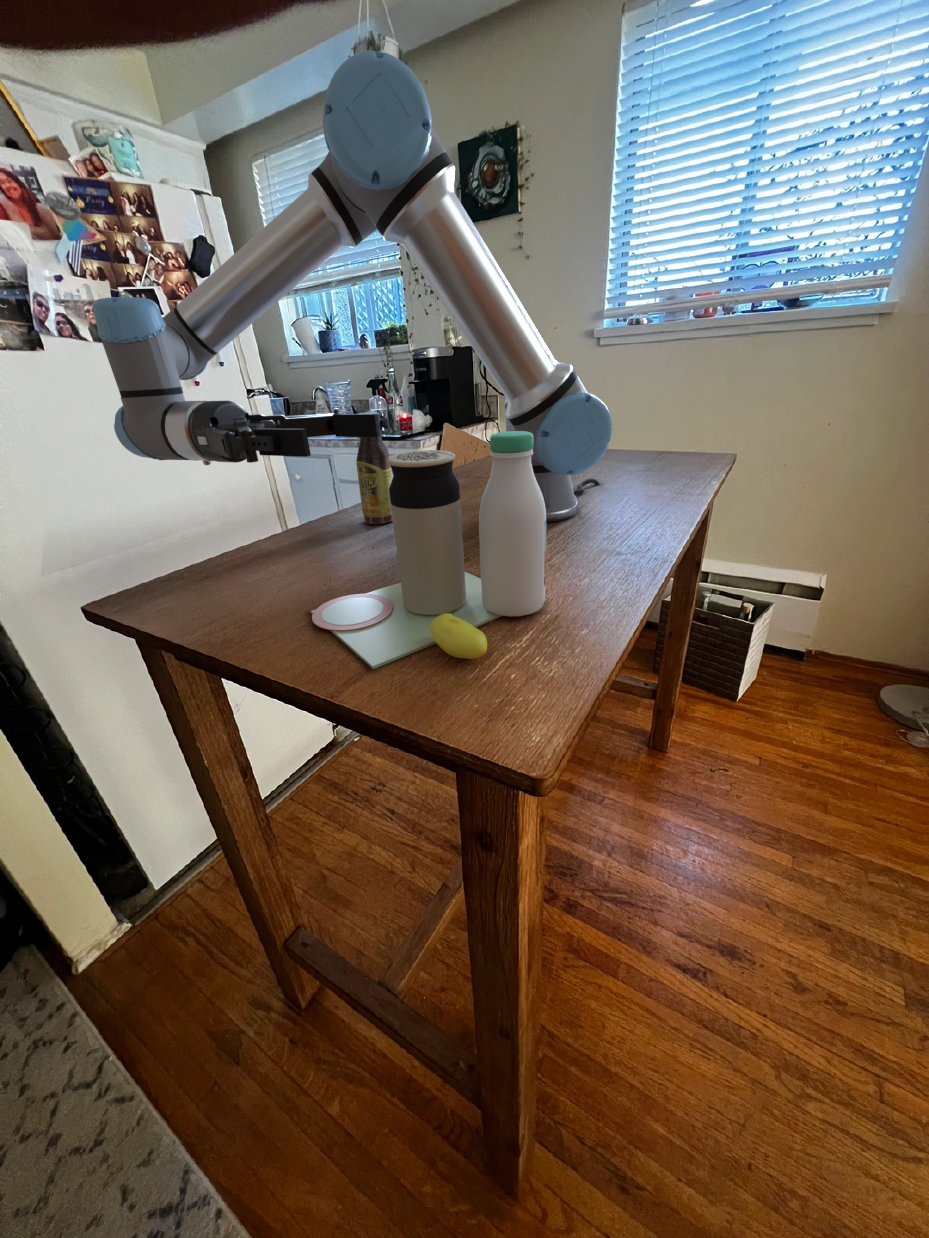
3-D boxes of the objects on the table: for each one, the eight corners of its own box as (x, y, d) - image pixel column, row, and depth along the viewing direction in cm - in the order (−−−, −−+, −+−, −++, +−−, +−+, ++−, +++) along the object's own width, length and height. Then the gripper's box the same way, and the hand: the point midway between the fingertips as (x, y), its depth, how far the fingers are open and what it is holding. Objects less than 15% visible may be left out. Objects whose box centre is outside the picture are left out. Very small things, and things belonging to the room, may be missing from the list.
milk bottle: (542, 619, 58) (546, 437, 49) (477, 616, 59) (468, 440, 50) (546, 591, 64) (550, 427, 55) (487, 589, 66) (481, 429, 57)
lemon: (451, 629, 57) (450, 599, 55) (497, 661, 51) (497, 628, 49) (420, 642, 55) (417, 611, 53) (465, 676, 49) (464, 643, 47)
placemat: (448, 566, 76) (447, 562, 75) (530, 604, 62) (530, 600, 62) (300, 613, 64) (299, 609, 64) (364, 673, 51) (363, 668, 50)
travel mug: (415, 623, 59) (397, 466, 51) (395, 598, 65) (376, 455, 57) (476, 607, 62) (469, 456, 53) (451, 585, 68) (441, 447, 60)
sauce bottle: (357, 522, 99) (340, 414, 89) (382, 515, 103) (368, 410, 93) (378, 528, 95) (362, 415, 85) (403, 520, 99) (391, 411, 89)
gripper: (285, 446, 78) (403, 449, 70) (135, 481, 58) (275, 491, 50) (274, 393, 74) (397, 389, 66) (110, 411, 54) (257, 410, 46)
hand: (345, 433), depth 58 cm, fingers open, 13 cm apart
